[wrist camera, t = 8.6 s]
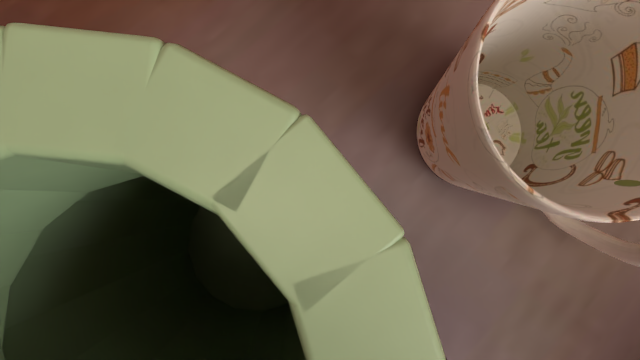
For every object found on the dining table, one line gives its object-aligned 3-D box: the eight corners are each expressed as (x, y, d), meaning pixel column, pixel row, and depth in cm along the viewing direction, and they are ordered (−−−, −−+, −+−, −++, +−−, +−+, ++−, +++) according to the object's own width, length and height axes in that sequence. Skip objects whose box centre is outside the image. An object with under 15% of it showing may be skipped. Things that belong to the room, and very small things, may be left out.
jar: (325, 321, 16) (419, 935, 3) (176, 309, 15) (-522, 901, 2) (338, 174, 16) (483, 67, 3) (193, 160, 16) (-346, -22, 3)
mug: (470, 28, 21) (613, -115, 11) (625, 192, 21) (903, 191, 11) (363, 130, 21) (414, 73, 11) (520, 296, 21) (713, 390, 11)
